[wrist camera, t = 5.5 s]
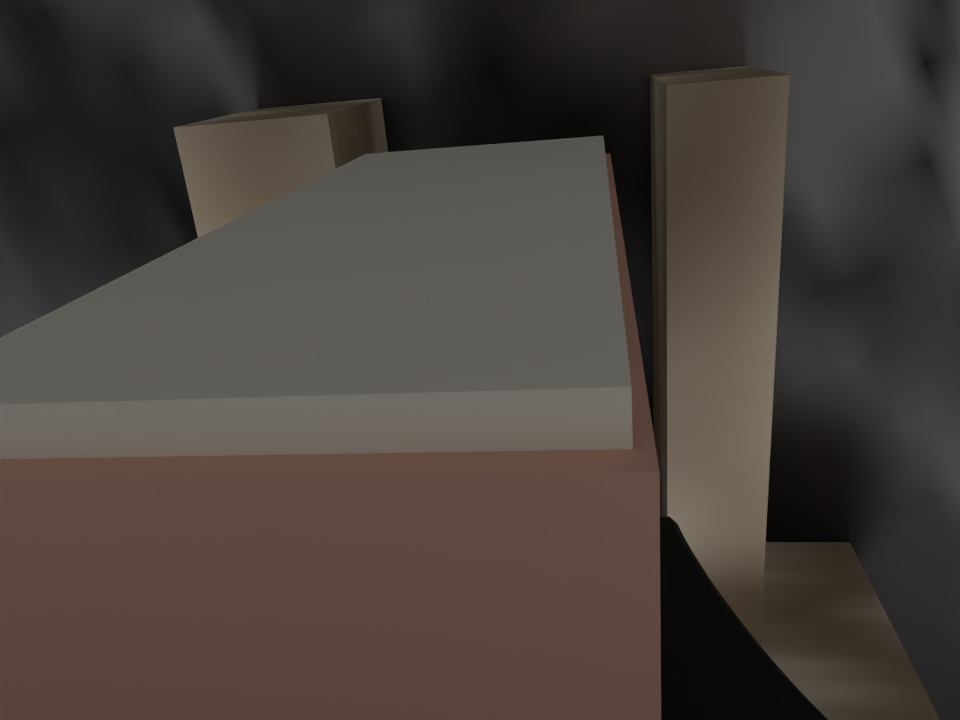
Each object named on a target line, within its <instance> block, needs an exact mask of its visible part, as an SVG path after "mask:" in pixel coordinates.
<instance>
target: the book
mask: <svg viewBox="0 0 960 720" xmlns="http://www.w3.org/2000/svg"><path fill="white" fill-rule="evenodd" d="M0 720H661V615H660V471H659V465H658V459H657V452H656V446H655V439H654V433H653V426H652V420H651V413H650V407H649V400H648V394H647V388H646V381H645V375H644V368H643V362H642V355H641V349H640V342H639V336H638V329H637V323H636V317H635V310H634V304H633V297H632V291H631V284H630V278H629V271H628V265H627V258H626V252H625V246H624V239H623V233H622V226H621V220H620V213H619V207H618V200H617V194H616V187H615V181H614V175H613V168H612V162H611V155H610V153H608V154H605V146H604V137H603V136H592V137H579V138H566V139H553V140H540V141H527V142H514V143H501V144H488V145H474V146H461V147H448V148H435V149H422V150H409V151H396V152H383V153H370V154H364V155H362V156H360V157H358V158H356V159H354V160H352V161H350V162H348V163H346V164H344V165H342V166H340V167H338V168H336V169H334V170H332V171H330V172H328V173H327V174H325V175H323V176H321V177H319V178H317V179H315V180H313V181H311V182H309V183H307V184H305V185H303V186H301V187H299V188H297V189H295V190H293V191H291V192H289V193H287V194H285V195H283V196H281V197H279V198H277V199H275V200H273V201H271V202H269V203H267V204H265V205H263V206H261V207H259V208H257V209H255V210H253V211H251V212H249V213H247V214H245V215H243V216H241V217H239V218H237V219H235V220H233V221H231V222H229V223H227V224H225V225H223V226H221V227H219V228H217V229H215V230H213V231H211V232H209V233H207V234H205V235H203V236H201V237H199V238H197V239H195V240H193V241H191V242H189V243H187V244H185V245H183V246H181V247H179V248H177V249H175V250H173V251H171V252H169V253H167V254H165V255H164V256H162V257H160V258H158V259H156V260H154V261H152V262H150V263H148V264H146V265H144V266H142V267H140V268H138V269H136V270H134V271H132V272H130V273H128V274H126V275H124V276H122V277H120V278H118V279H116V280H114V281H112V282H110V283H108V284H106V285H104V286H102V287H100V288H98V289H96V290H94V291H92V292H90V293H88V294H86V295H84V296H82V297H80V298H78V299H76V300H74V301H72V302H70V303H68V304H66V305H64V306H62V307H60V308H58V309H56V310H54V311H52V312H50V313H48V314H46V315H44V316H42V317H40V318H38V319H36V320H34V321H32V322H30V323H28V324H26V325H24V326H22V327H20V328H18V329H16V330H14V331H12V332H10V333H8V334H6V335H4V336H2V337H0Z"/></svg>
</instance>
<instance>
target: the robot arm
mask: <svg viewBox="0 0 960 720" xmlns="http://www.w3.org/2000/svg"><path fill="white" fill-rule="evenodd" d="M660 615H661V720H828V719H827V718H826V717H825V716H824V715H823V714H822V713H821V712H820V711H819V710H818V709H817V708H816V707H815V706H814V705H813V704H812V703H811V702H810V701H809V700H808V699H807V698H806V697H805V696H804V695H803V693H802V692H801V691H800V690H799V689H798V688H797V687H796V686H795V685H794V684H793V683H792V682H791V680H790V679H789V678H788V677H787V676H786V675H785V674H784V673H783V672H782V671H781V669H780V668H779V667H778V666H777V665H776V664H775V662H774V661H773V660H772V659H771V658H770V657H769V655H768V654H767V653H766V652H765V651H764V649H763V648H762V647H761V646H760V645H759V644H758V642H757V641H756V640H755V639H754V637H753V636H752V635H751V634H750V632H749V631H748V630H747V629H746V627H745V626H744V625H743V624H742V622H741V621H740V620H739V618H738V617H737V616H736V614H735V613H734V612H733V610H732V609H731V608H730V606H729V605H728V603H727V602H726V601H725V599H724V598H723V597H722V595H721V594H720V593H719V591H718V590H717V588H716V587H715V586H714V584H713V583H712V581H711V580H710V578H709V577H708V575H707V574H706V572H705V571H704V569H703V568H702V566H701V564H700V563H699V561H698V560H697V558H696V557H695V555H694V553H693V552H692V550H691V548H690V547H689V545H688V543H687V541H686V539H685V537H684V536H683V534H682V532H681V530H680V528H679V525H678V524H677V523H676V522H675V521H674V520H673V519H672V518H671V517H660Z"/></svg>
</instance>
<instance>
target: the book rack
mask: <svg viewBox="0 0 960 720" xmlns="http://www.w3.org/2000/svg"><path fill="white" fill-rule="evenodd" d="M789 84H790V75H789V74H784V73H779V72H774V71H769V70H764V69H759V68H754V67H749V66H741V67H729V68H718V69H707V70H695V71H684V72H672V73H661V74H650V97H651V204H652V310H653V417H654V439H655V446H656V452H657V459H658V465H659V471H660V517H671V518H672V519H673V520H674V521H675V522H676V523H677V524H678V525H679V528H680V530H681V532H682V534H683V536H684V537H685V539H686V541H687V543H688V545H689V547H690V548H691V550H692V552H693V553H694V555H695V557H696V558H697V560H698V561H699V563H700V564H701V566H702V568H703V569H704V571H705V572H706V574H707V575H708V577H709V578H710V580H711V581H712V583H713V584H714V586H715V587H716V588H717V590H718V591H719V593H720V594H721V595H722V597H723V598H724V599H725V601H726V602H727V603H728V605H729V606H730V608H731V609H732V610H733V612H734V613H735V614H736V616H737V617H738V618H739V620H740V621H741V622H742V624H743V625H744V626H745V627H746V629H747V630H748V631H749V632H750V634H751V635H752V636H753V637H754V639H755V640H756V641H757V642H758V644H759V645H760V646H761V647H762V648H763V649H764V651H765V652H766V653H767V654H768V655H769V657H770V658H771V659H772V660H773V661H774V662H775V664H776V665H777V666H778V667H779V668H780V669H781V671H782V672H783V673H784V674H785V675H786V676H787V677H788V678H789V679H790V680H791V682H792V683H793V684H794V685H795V686H796V687H797V688H798V689H799V690H800V691H801V692H802V693H803V695H804V696H805V697H806V698H807V699H808V700H809V701H810V702H811V703H812V704H813V705H814V706H815V707H816V708H817V709H818V710H819V711H820V712H821V713H822V714H823V715H824V716H825V717H826V718H827V719H828V720H940V719H939V717H938V715H937V713H936V711H935V709H934V707H933V705H932V703H931V701H930V699H929V697H928V695H927V693H926V691H925V689H924V687H923V686H922V684H921V682H920V680H919V678H918V676H917V674H916V672H915V670H914V668H913V666H912V664H911V662H910V660H909V658H908V656H907V654H906V652H905V650H904V648H903V646H902V644H901V642H900V640H899V638H898V636H897V634H896V632H895V630H894V628H893V627H892V625H891V623H890V621H889V619H888V617H887V615H886V613H885V611H884V609H883V607H882V605H881V603H880V601H879V599H878V597H877V595H876V593H875V591H874V589H873V587H872V585H871V583H870V581H869V579H868V577H867V575H866V573H865V571H864V569H863V567H862V566H861V564H860V562H859V560H858V558H857V556H856V554H855V552H854V550H853V548H852V546H851V544H850V542H766V526H767V506H768V487H769V468H770V449H771V430H772V410H773V391H774V372H775V353H776V334H777V314H778V295H779V276H780V257H781V238H782V218H783V199H784V180H785V161H786V142H787V122H788V103H789ZM173 128H174V132H175V137H176V141H177V145H178V150H179V154H180V159H181V163H182V168H183V172H184V177H185V181H186V186H187V190H188V194H189V199H190V203H191V208H192V212H193V217H194V221H195V226H196V230H197V235H198V238H199V237H201V236H203V235H205V234H207V233H209V232H211V231H213V230H215V229H217V228H219V227H221V226H223V225H225V224H227V223H229V222H231V221H233V220H235V219H237V218H239V217H241V216H243V215H245V214H247V213H249V212H251V211H253V210H255V209H257V208H259V207H261V206H263V205H265V204H267V203H269V202H271V201H273V200H275V199H277V198H279V197H281V196H283V195H285V194H287V193H289V192H291V191H293V190H295V189H297V188H299V187H301V186H303V185H305V184H307V183H309V182H311V181H313V180H315V179H317V178H319V177H321V176H323V175H325V174H327V173H328V172H330V171H332V170H334V169H336V168H338V167H340V166H342V165H344V164H346V163H348V162H350V161H352V160H354V159H356V158H358V157H360V156H362V155H364V154H370V153H383V152H388V147H387V140H386V132H385V124H384V116H383V109H382V101H381V98H376V99H365V100H353V101H342V102H331V103H319V104H308V105H296V106H285V107H274V108H262V109H254V110H250V111H245V112H241V113H236V114H232V115H227V116H223V117H218V118H214V119H209V120H205V121H200V122H196V123H191V124H186V125H182V126H177V127H173Z"/></svg>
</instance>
